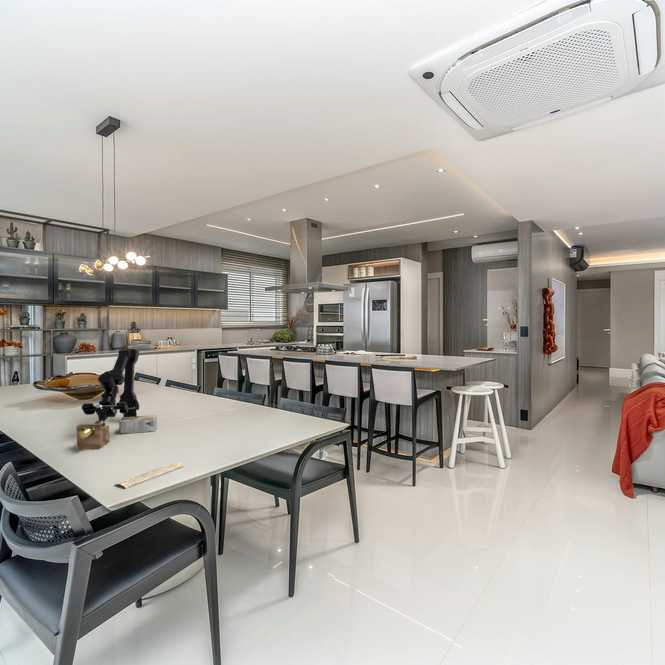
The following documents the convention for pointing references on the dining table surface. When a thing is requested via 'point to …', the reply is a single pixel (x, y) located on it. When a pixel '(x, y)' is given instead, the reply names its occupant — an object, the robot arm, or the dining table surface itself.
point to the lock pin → (90, 430)
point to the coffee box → (137, 424)
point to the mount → (93, 437)
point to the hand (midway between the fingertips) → (100, 424)
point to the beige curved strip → (151, 475)
